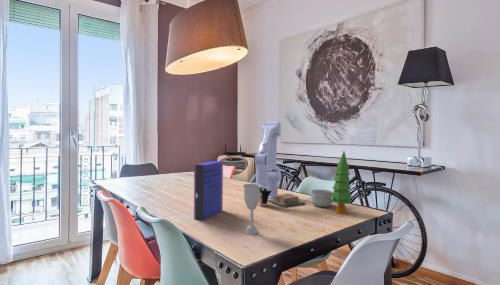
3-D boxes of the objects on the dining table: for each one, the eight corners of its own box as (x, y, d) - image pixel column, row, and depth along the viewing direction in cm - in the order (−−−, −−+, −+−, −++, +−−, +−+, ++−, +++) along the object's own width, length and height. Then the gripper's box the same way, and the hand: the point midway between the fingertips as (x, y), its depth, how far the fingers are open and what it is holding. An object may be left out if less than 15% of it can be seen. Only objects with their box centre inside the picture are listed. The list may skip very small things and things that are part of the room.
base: (268, 201, 164) (268, 194, 164) (288, 199, 171) (288, 192, 171) (283, 207, 152) (283, 199, 152) (304, 204, 159) (305, 196, 159)
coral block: (254, 204, 158) (254, 193, 158) (262, 203, 160) (262, 192, 160) (259, 206, 154) (259, 195, 153) (267, 205, 156) (268, 194, 156)
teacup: (308, 206, 155) (308, 191, 155) (313, 202, 165) (314, 187, 164) (335, 210, 148) (335, 194, 148) (339, 205, 158) (340, 190, 158)
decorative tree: (353, 211, 146) (354, 150, 144) (348, 216, 138) (349, 151, 137) (333, 208, 151) (334, 149, 150) (327, 213, 143) (328, 150, 142)
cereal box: (213, 209, 147) (214, 160, 146) (222, 210, 145) (222, 161, 144) (194, 218, 131) (194, 164, 130) (203, 220, 129) (203, 164, 128)
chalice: (250, 227, 120) (251, 183, 119) (264, 231, 115) (265, 185, 115) (238, 232, 114) (239, 185, 113) (252, 236, 110) (253, 187, 109)
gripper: (248, 174, 161) (247, 200, 161) (262, 178, 148) (262, 206, 149) (259, 174, 164) (258, 198, 165) (274, 177, 152) (274, 204, 152)
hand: (261, 202), depth 157 cm, fingers open, 6 cm apart
